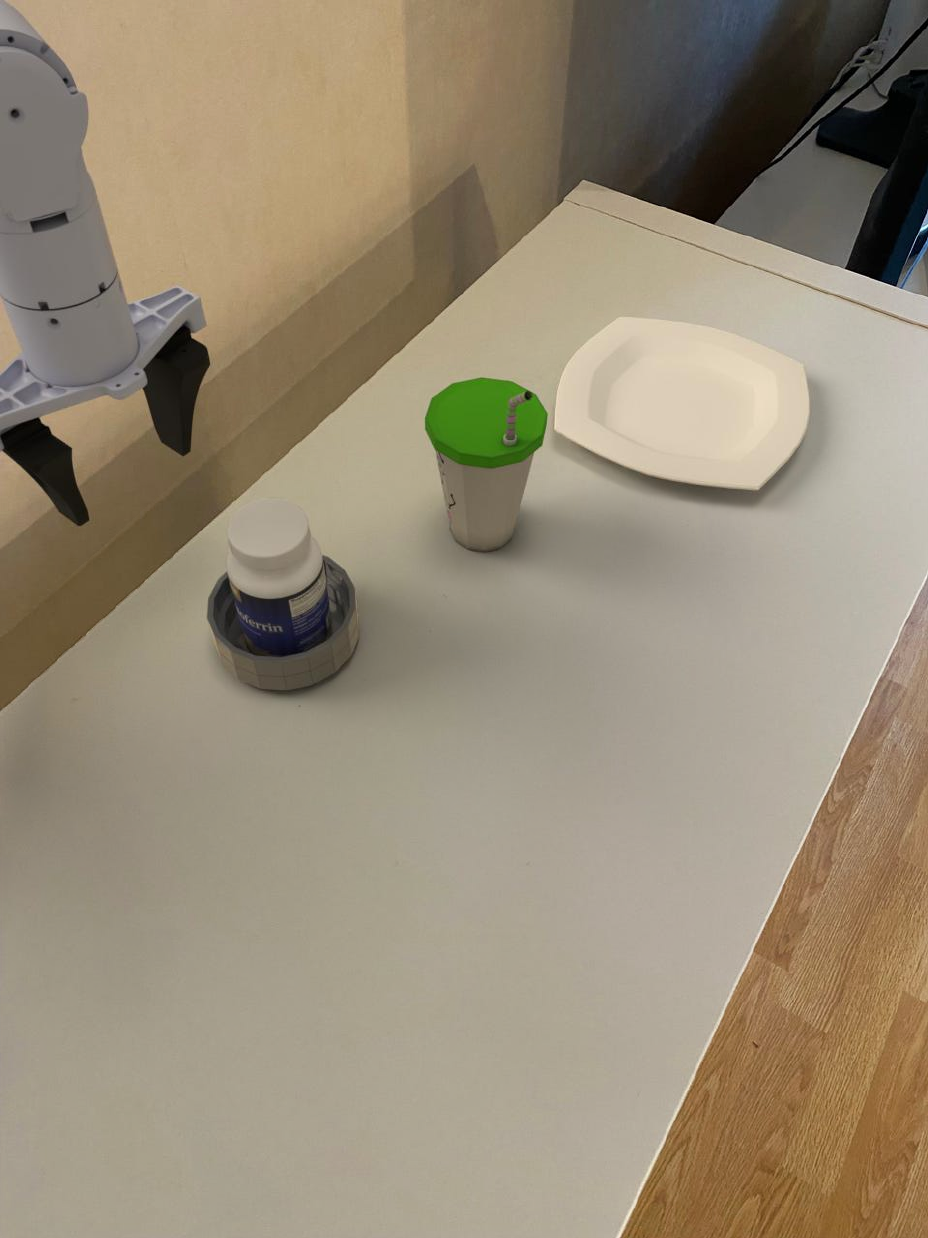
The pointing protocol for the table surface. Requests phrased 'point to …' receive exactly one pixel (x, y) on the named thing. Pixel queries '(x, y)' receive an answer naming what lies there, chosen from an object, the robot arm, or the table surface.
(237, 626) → the bowl
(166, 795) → the table surface
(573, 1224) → the table surface
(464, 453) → the cup
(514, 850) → the table surface
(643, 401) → the plate
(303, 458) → the table surface
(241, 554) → the pill bottle
